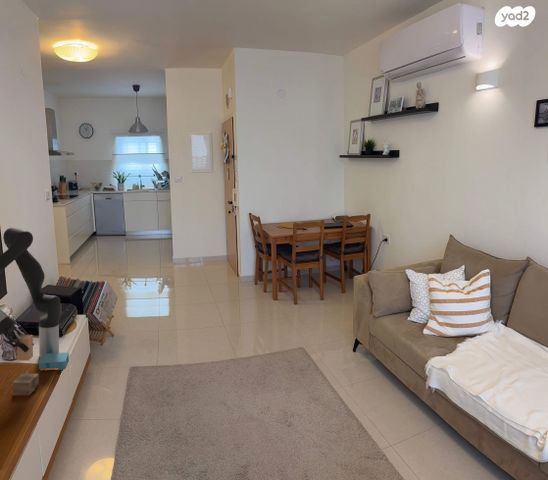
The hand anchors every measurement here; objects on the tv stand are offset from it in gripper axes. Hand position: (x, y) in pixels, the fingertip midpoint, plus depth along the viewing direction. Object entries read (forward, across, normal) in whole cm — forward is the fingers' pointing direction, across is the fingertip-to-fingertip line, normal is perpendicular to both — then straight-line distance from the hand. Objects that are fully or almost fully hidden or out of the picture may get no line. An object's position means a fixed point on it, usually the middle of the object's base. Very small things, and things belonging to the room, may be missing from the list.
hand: (29, 348), depth 194 cm
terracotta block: (+2, 0, +5) cm, 5 cm away
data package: (+9, +25, +16) cm, 31 cm away
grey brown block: (+13, 0, +15) cm, 20 cm away
